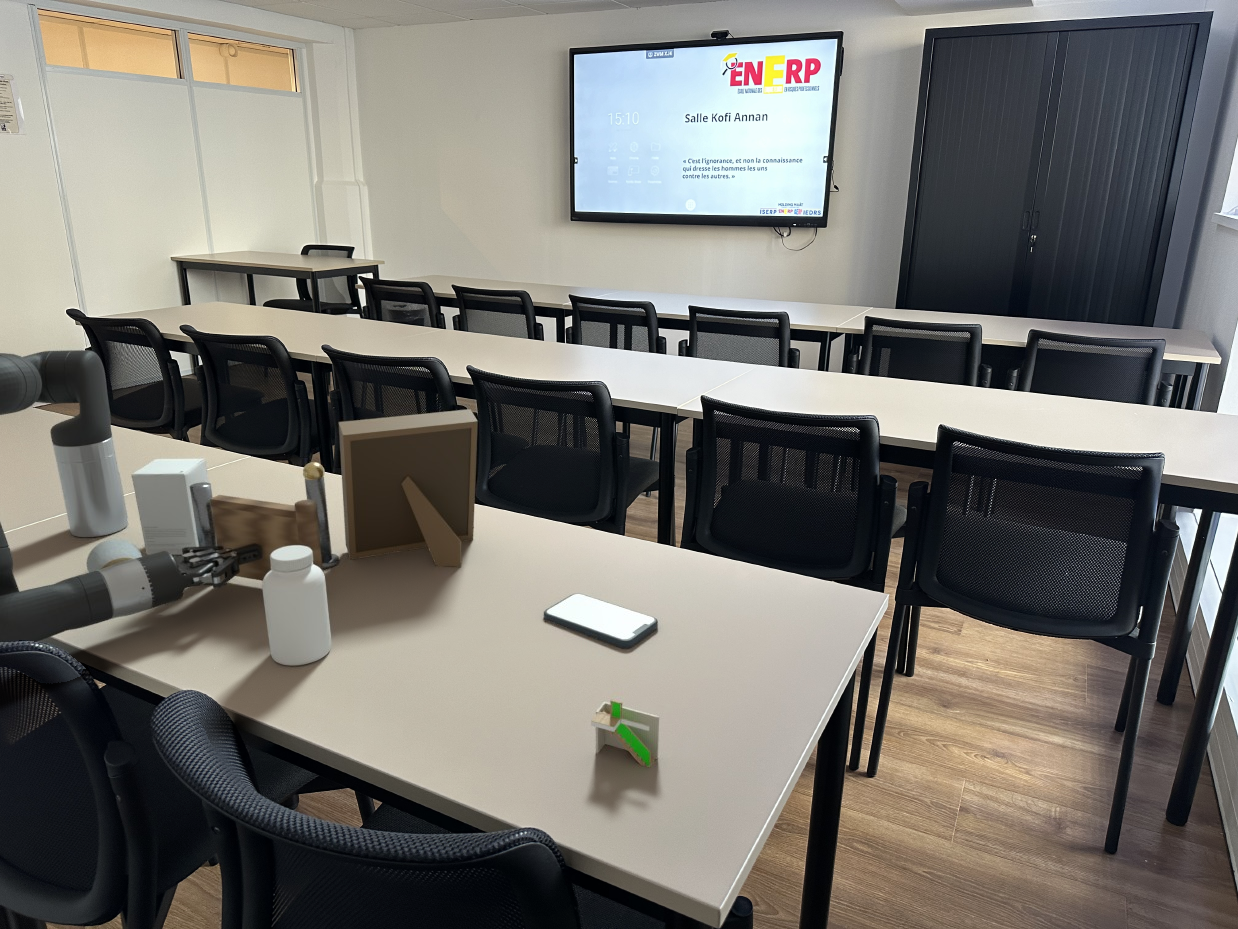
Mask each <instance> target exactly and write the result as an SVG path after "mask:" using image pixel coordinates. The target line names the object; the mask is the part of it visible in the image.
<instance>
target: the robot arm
mask: <svg viewBox="0 0 1238 929" xmlns="http://www.w3.org/2000/svg"><path fill="white" fill-rule="evenodd" d="M107 387H108V386H107V378H106V372H105V367H104V364H103V362H102V359H101V358H100V356H99V355H98V354H97V353H96V352H95V351H93V350H84V349H81V350H80V349H78V350H74V349H73V350H72V349H70V350H68V349H67V350H44V351H40V352H36V353H32V354H28V355H24V356H21V355H18V354H14V353H8V352H7V353H6V352H5V353H3V352H2V353H1V352H0V416H2V415H9V414H15V413H18V412H21V411H25V410H26V409H28V408H30V407H32V406H33V405H34V404H35V403H40V404H55V405H56V404H79V405H78V406H79V414H77V415H75V416H73V417H72V418H68V419H65V420H62V421H60V422H58V423H56V424H54V425H53V426H52V427H51V429H50V431H49V432H50V438H51V442H52V443H51V444H52V447H53V451H54V456H55V462H56V467H57V471H58V476H59V482H60V485H61V487H60V488H61V490H62V491H61V492H62V496H63V500H64V505H65V510H66V516H67V522H68V526H69V530H70V533H71V535H72V536H73V537H74V536H75V537H79V538H94V537H102V536H107V535H110V534H115V533H116V532H119V531H122V530H123V529H124V528H126V527H127V526H128V525H129V522H128V521H129V520H128V518H129V517H128V513H127V512H128V510H127V507H126V500H125V495H124V490H123V483H122V478H121V474H120V470H119V465H118V459H117V453H116V449H115V444H114V439H113V432H112V423H111V422H112V421H111V411H110V410H111V409H110V404H109V403H110V402H109V395H108V388H107ZM9 546H10V545H9V542H8V540H7V538H6V534H5V531H4V528H3V526H2V522H1V521H0V642H10V641H19V640H26V641H34V643H36V642H37V643H38V642H39V641H43V640H45V639H48V638H51V637H53V636H57V635H58V634H61V633H64V632H67V631H72V630H77V629H81V628H86V627H89V626H94V625H96V624H100V623H103V622H105V621H110V620H111V619H116V618H117V619H118V618H121V617H128V616H132V615H135V614H138V613H141V612H146V611H148V610H151V609H156V608H158V607H161V606H165V605H168V604H171V603H174V602H178V601H180V600H181V599H182V598H183V596H184V591H185V589H187V588H193V587H194V588H195V587H200V586H202V585H204V584H205V583H206V582H208V583H213V584H212V587H213V589H220V588H222V587H224V585H226V584H227V583H229V581H231V580H232V579H233V578H235V577H237V576H236V575H237V574H238V573H239V572H240V569H239V565H242V564H245V563H249V562H252V561H256V560H259V559H261V558H262V556H263V555H262V548H261V547H260V546H259V545H257V544H256V543H253V544H250V545H246V546H242V547H239V548H235V549H233V550H232V548H226V549H224V548H223V546H202V547H185V548H182V555H178V556H174V555H172V554H171V553H170V552H168V551H162V552H158V553H154V554H150V555H147V554H146V555H142V557H139V558H135V559H132V560H128V561H124V562H120V563H117V564H114V565H111V566H108V567H106V568H103V569H100V570H97V571H93V572H90V573H89V572H85V573H83V574H79V575H75V576H72V577H69V578H65V579H62V580H60V581H58V582H55V583H54V584H47V585H44V586H39V587H35V588H33V587H32V588H28V589H24V590H20V589H19V586H18V583H17V581H16V577H15V575H14V572H13V568H14V560H13V556H12V555H13V554H12V551H11V548H10V547H9Z"/></svg>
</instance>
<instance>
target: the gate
mask: <svg viewBox="0 0 1238 929" xmlns="http://www.w3.org/2000/svg"><path fill="white" fill-rule="evenodd" d="M212 497H213V496H212ZM210 504H211V507H212V514H213V520H214V527H215V534H216V541H217V546H223V548H224V549H226V548H232V550H233V549H235V548H239V547H242V546H246V545H250V544H253V543H256V544H257V545H259V546H260V547H261V548H262V555H263V556H262V558H261V559H259V560H256V561H252V562H249V563H245V564H242V565H239V569H240V572H239V573H238V574H237V575H236V576H235V577H239V578H243V579H251V580H255V581H261V582H263V579H264V577H265V575H266V574H267V573H268V572H269V571H271V562H270V555H271V553H272V552H273V551H275V550H277V549H279V548H282V547H286V546H293V545H301V546H306V547H309V548H310V549H311V550H312V552H313V564H314V565H316V566H318V567H319V568H320V569H321V570H322V571H323V572H324V569H323V566H322V557H321V547H320V538H319V529H318V519H317V510H316V502H315V501H314V500H307V499H303V500H298V501H297V502H294V505H293V504H287V503H280V502H279V503H278V502H272V501H265V500H264V501H263V500H259V499H252V498H245V497H238V496H237V497H236V496H230V495H223V494H218V495H216V496H214V497H213V498H211V499H210Z"/></svg>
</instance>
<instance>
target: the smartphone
mask: <svg viewBox="0 0 1238 929" xmlns="http://www.w3.org/2000/svg"><path fill="white" fill-rule="evenodd" d="M543 619H544V620H545V621H547V622H550V623H553V624H555V625H558V626H560V627H563V628H566V629H568V630H571V631H573V632H576V633H578V634H582V635H584V636H587V637H590V638H591V639H592V638H593V639H595V640H598V641H600V642H602V643H603V642H604V643H606V644H608V645H612V646H614V647H617V648H620V649H625V650H626V649H631V648H633V647H634V646H636V645H637V644H639V643H640V642H641V641H643V640H644V639H645V638H647V637H648V636H649V635H650V634H652V633H653V632H655V631H656V630H658V629H659V628H658V627H659V626H658V625H659V623H658V622H659V621H658V619H657V618H656V617H654V616H651V615H648V614H646V613H645V614H644V613H642V612H640V611H639V612H638V611H635V610H634V609H633V610H632V609H629V608H626V607H623V606H620V605H616V604H614V603H610V602H608V601H604V600H601V599H598V598H595V597H592V596H589V595H586V594H583V593H579V592H578V593H573V594H570V595H569V596H567V597H565V598H563V599H562V600H560V601H559V602H557V603H555V604H553V605H551V606H550V607H548V608H547V609H545V610H544V611H543Z"/></svg>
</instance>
